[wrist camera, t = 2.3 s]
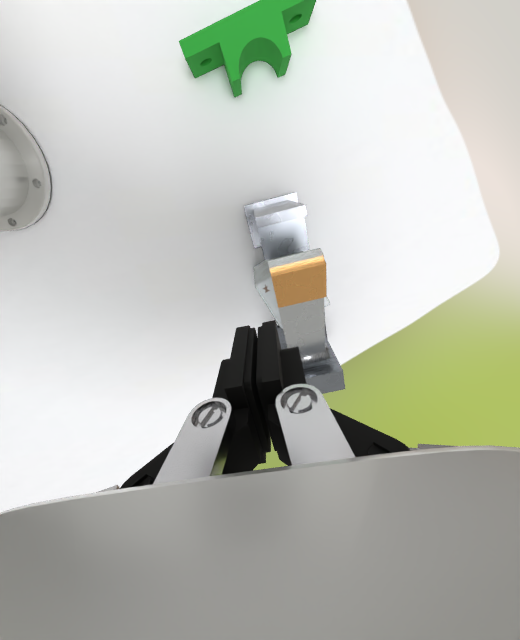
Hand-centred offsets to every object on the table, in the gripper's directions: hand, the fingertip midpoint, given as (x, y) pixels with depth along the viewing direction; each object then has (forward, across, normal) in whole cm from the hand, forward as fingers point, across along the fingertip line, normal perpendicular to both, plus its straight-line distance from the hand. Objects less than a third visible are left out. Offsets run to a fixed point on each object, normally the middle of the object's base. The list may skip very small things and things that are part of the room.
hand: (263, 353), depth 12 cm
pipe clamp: (+24, -2, -17) cm, 29 cm away
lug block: (+24, -2, -2) cm, 24 cm away
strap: (+12, -2, +4) cm, 13 cm away
